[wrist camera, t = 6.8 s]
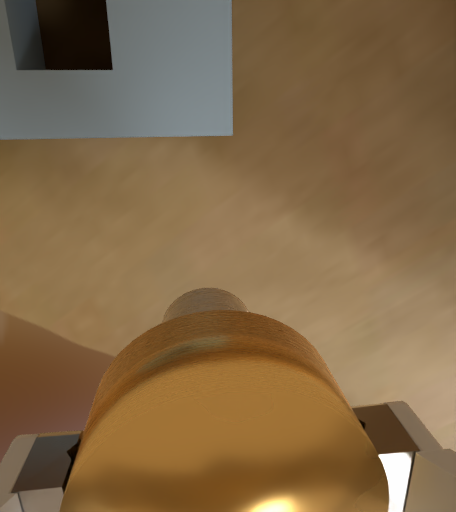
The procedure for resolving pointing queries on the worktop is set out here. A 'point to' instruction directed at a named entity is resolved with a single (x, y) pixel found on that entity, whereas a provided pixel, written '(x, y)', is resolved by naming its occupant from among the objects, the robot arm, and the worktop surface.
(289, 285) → the worktop surface
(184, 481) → the orange domed piece
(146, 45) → the blue-grey slotted block
